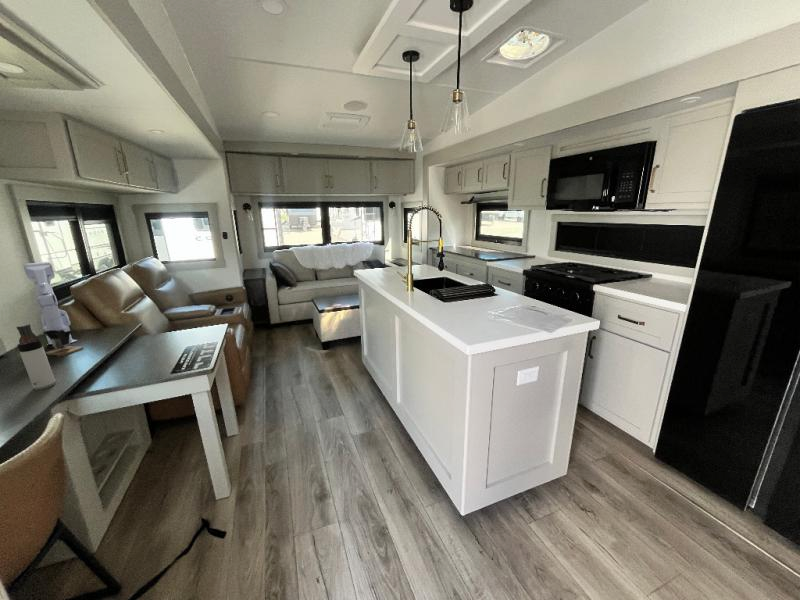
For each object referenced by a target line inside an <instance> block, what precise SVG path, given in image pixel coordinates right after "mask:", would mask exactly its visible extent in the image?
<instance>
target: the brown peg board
mask: <svg viewBox="0 0 800 600" xmlns="http://www.w3.org/2000/svg"><path fill="white" fill-rule="evenodd" d="M81 349H82V350H84V347H83V346H76V345H74V346H72V345H70V346H67V347H65V348H60V349H52V350H49V351H45V354H49V355H48V356H52V355H57V356H56V357H62V356H63V357H65V355H66V356H67V355H71V354H74V353H76V352H79V351H81ZM78 350H79V351H78ZM73 352H74V353H73Z"/></svg>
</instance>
